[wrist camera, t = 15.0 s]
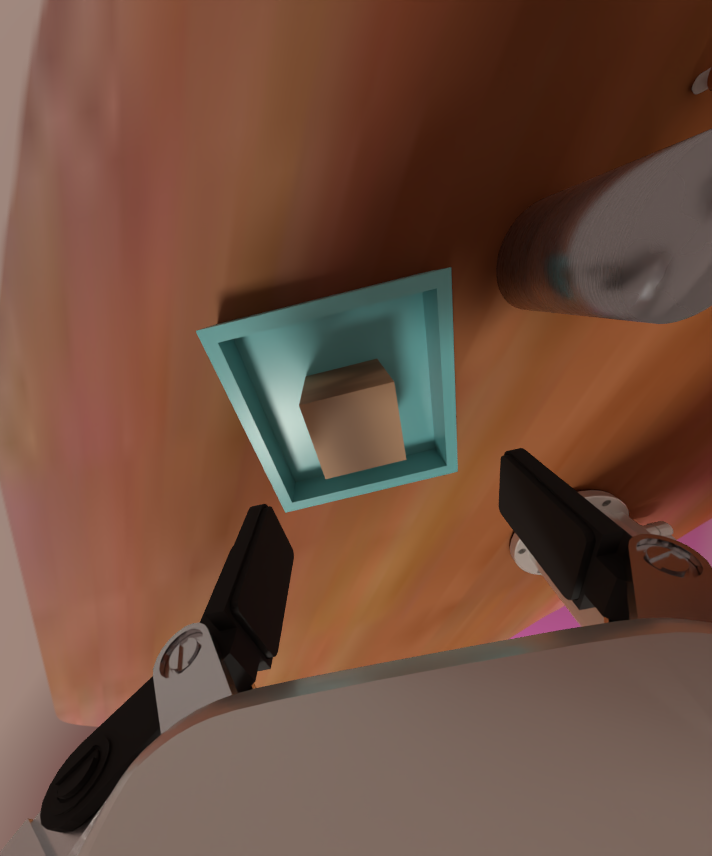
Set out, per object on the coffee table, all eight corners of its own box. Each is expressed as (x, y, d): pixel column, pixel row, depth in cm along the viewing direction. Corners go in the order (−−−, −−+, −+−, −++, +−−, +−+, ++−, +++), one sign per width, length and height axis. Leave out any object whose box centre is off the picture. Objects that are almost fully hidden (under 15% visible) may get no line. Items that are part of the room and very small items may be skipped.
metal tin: (602, 183, 15) (850, 88, 8) (580, 298, 18) (748, 304, 11) (498, 209, 15) (652, 138, 8) (494, 319, 18) (604, 339, 11)
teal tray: (430, 270, 16) (451, 267, 13) (442, 450, 22) (457, 471, 20) (217, 324, 16) (195, 331, 14) (290, 486, 23) (285, 512, 20)
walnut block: (377, 358, 18) (394, 381, 13) (388, 422, 20) (406, 459, 16) (305, 376, 18) (298, 405, 13) (325, 437, 20) (325, 479, 16)
